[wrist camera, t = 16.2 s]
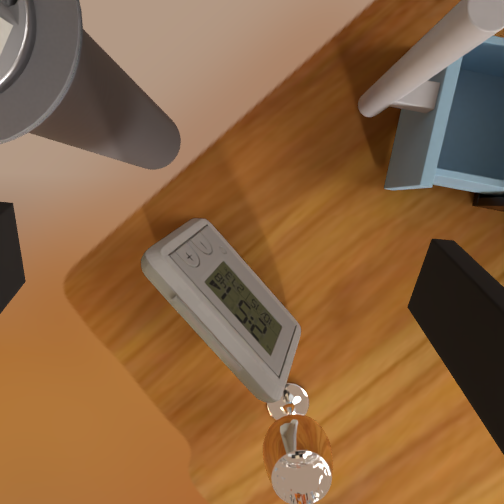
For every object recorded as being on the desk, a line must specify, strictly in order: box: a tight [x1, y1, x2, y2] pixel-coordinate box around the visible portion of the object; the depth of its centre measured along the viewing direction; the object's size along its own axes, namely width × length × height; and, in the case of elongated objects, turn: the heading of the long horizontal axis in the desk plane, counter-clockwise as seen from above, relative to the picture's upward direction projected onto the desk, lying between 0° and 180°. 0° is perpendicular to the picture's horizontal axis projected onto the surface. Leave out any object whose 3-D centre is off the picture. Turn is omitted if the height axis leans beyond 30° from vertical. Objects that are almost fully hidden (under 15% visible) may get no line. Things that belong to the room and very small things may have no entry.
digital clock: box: [141, 218, 301, 403], centre depth 37 cm, size 16×9×11 cm, turn 29°
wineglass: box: [263, 383, 333, 504], centre depth 38 cm, size 6×6×12 cm
